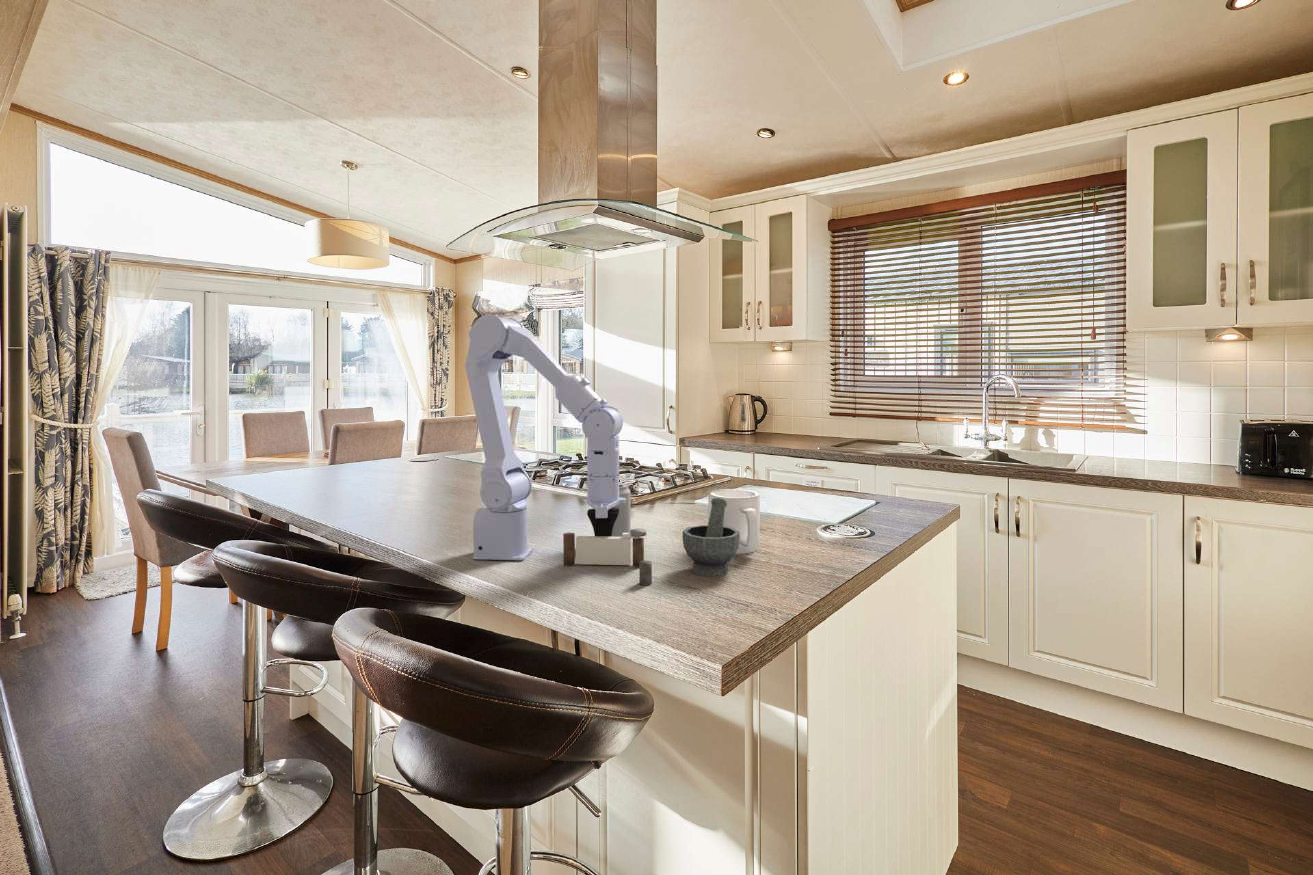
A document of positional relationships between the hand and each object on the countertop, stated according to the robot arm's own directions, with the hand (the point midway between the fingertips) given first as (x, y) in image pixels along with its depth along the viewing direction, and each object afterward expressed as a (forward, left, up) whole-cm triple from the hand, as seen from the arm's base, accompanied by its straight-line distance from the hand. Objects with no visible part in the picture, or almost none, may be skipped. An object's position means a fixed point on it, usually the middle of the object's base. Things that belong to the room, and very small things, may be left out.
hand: (603, 548), depth 115 cm
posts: (+1, -7, -2) cm, 7 cm away
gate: (+2, -2, -2) cm, 3 cm away
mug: (+25, +11, -3) cm, 27 cm away
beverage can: (+1, +12, -3) cm, 13 cm away
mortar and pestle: (+20, -3, -3) cm, 20 cm away
